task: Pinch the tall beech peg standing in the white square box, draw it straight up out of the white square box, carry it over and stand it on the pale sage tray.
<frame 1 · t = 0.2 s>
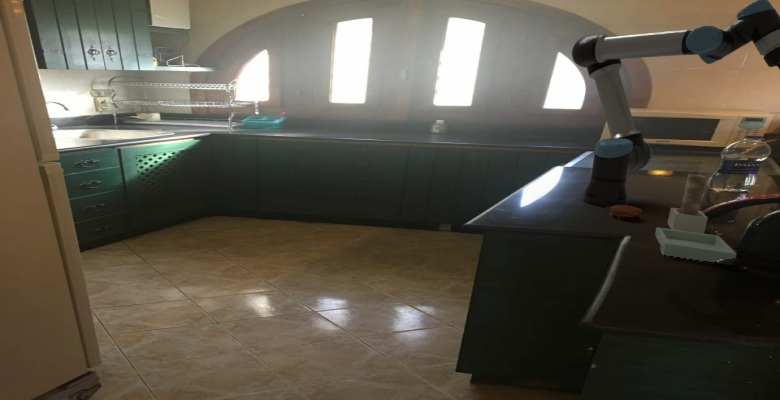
burger: (624, 220, 128), on the worktop
peg: (684, 228, 117), point 1 cm above the worktop, touching white square box
tray: (690, 251, 103), on the worktop
white square box: (684, 231, 117), on the worktop
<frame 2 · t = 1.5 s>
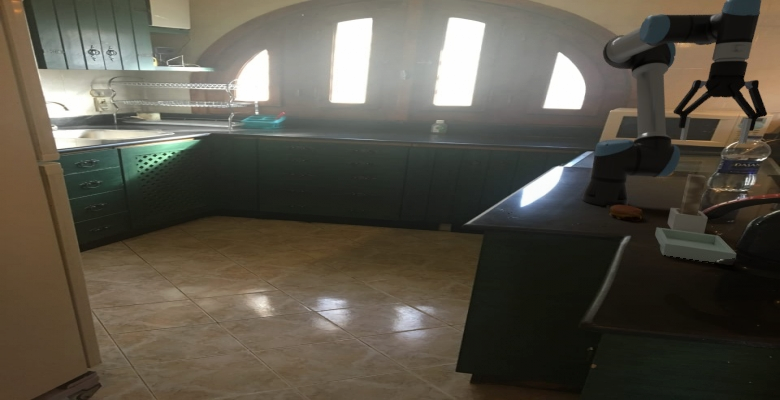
hand: (711, 141, 110), 27 cm above the worktop, tool pointing down, fingers open, 13 cm apart
nothing on the worktop moved.
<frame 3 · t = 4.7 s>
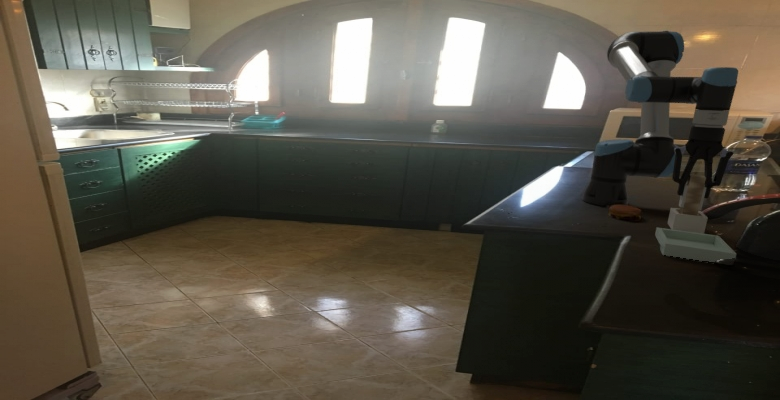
hand: (689, 207, 115), 8 cm above the worktop, tool pointing down, fingers closed on peg, 3 cm apart
peg: (684, 228, 117), point 1 cm above the worktop, touching white square box, gripper
everything else where it was.
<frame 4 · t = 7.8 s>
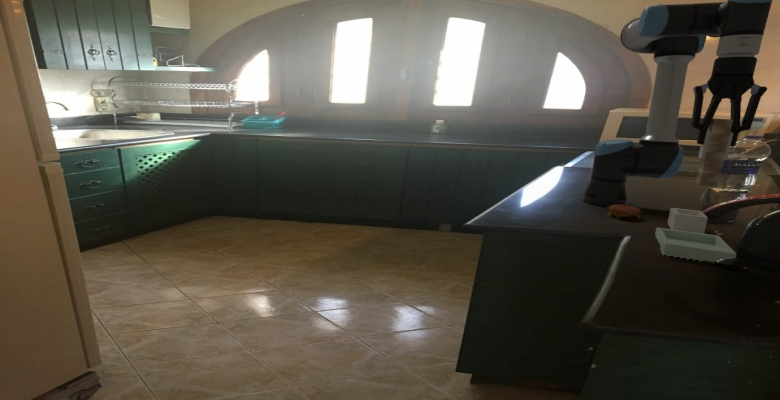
hand: (712, 158, 96), 24 cm above the worktop, tool pointing down, fingers closed on peg, 3 cm apart
peg: (706, 184, 98), point 18 cm above the worktop, touching gripper
everything else where it was.
when the fingers open (9 cm above the worktop, at t = 11.1 s): peg drops 1 cm, resting on tray.
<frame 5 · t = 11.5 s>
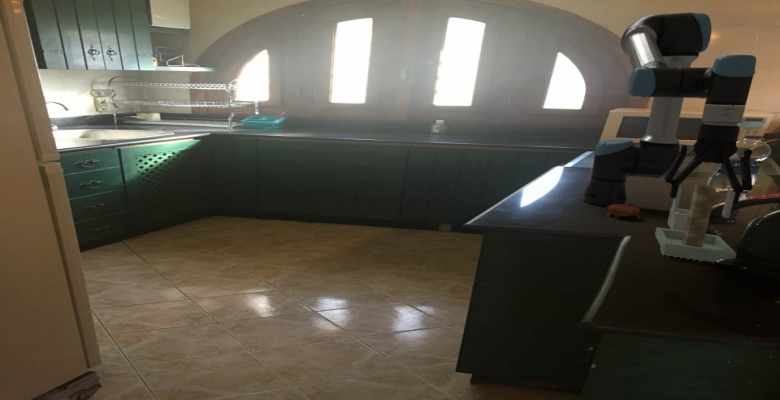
hand: (699, 213, 100), 10 cm above the worktop, tool pointing down, fingers open, 10 cm apart
peg: (691, 246, 102), point 1 cm above the worktop, touching tray
everything else where it was.
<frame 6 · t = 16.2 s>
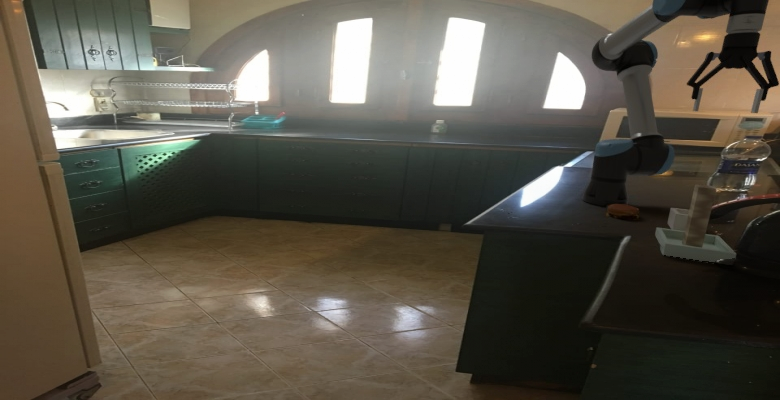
hand: (724, 112, 114), 35 cm above the worktop, tool pointing down, fingers open, 13 cm apart
at the end: peg inside the target area on the tray (0.0 cm from its centre), point 1.2 cm above the tray's base; the gripper is holding nothing; peg touching tray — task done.
